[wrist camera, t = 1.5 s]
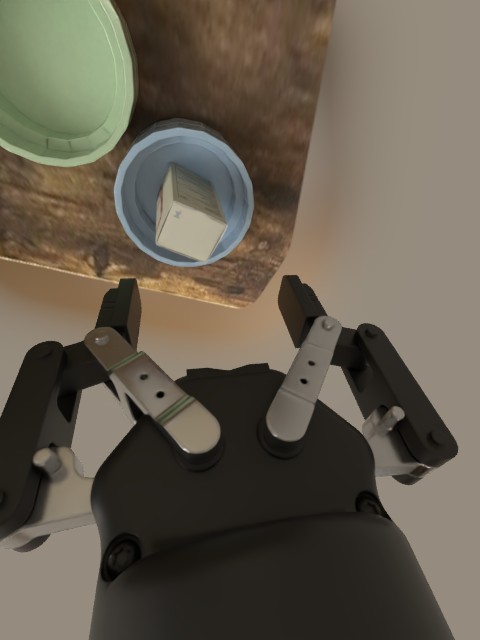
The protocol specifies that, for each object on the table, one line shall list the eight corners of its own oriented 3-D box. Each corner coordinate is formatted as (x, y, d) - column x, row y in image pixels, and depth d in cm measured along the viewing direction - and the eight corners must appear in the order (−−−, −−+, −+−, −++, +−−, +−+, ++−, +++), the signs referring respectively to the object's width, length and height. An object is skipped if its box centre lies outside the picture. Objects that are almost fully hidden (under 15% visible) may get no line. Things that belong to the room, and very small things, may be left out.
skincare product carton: (155, 198, 31) (151, 243, 24) (170, 159, 29) (170, 196, 21) (198, 219, 33) (206, 266, 26) (216, 184, 31) (229, 225, 24)
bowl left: (-14, 138, 25) (-44, 153, 22) (-106, -121, 17) (-182, -168, 13) (142, 160, 29) (138, 176, 25) (133, -47, 20) (124, -68, 16)
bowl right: (127, 240, 34) (122, 263, 30) (114, 105, 25) (105, 114, 22) (234, 248, 37) (240, 269, 34) (255, 131, 28) (267, 142, 25)
